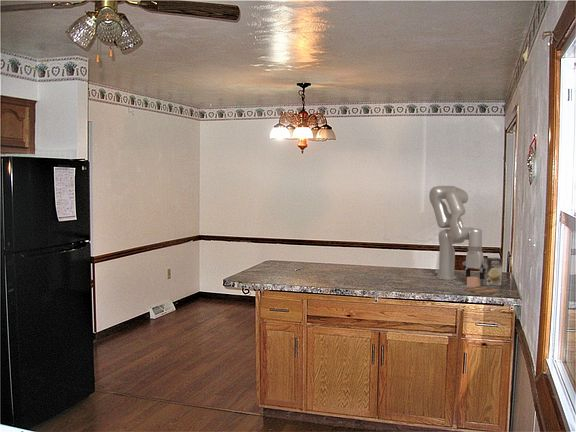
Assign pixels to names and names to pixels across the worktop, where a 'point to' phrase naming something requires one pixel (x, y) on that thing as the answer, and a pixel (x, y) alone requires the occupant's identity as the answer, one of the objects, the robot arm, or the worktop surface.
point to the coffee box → (493, 271)
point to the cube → (473, 281)
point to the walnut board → (482, 290)
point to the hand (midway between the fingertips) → (474, 277)
